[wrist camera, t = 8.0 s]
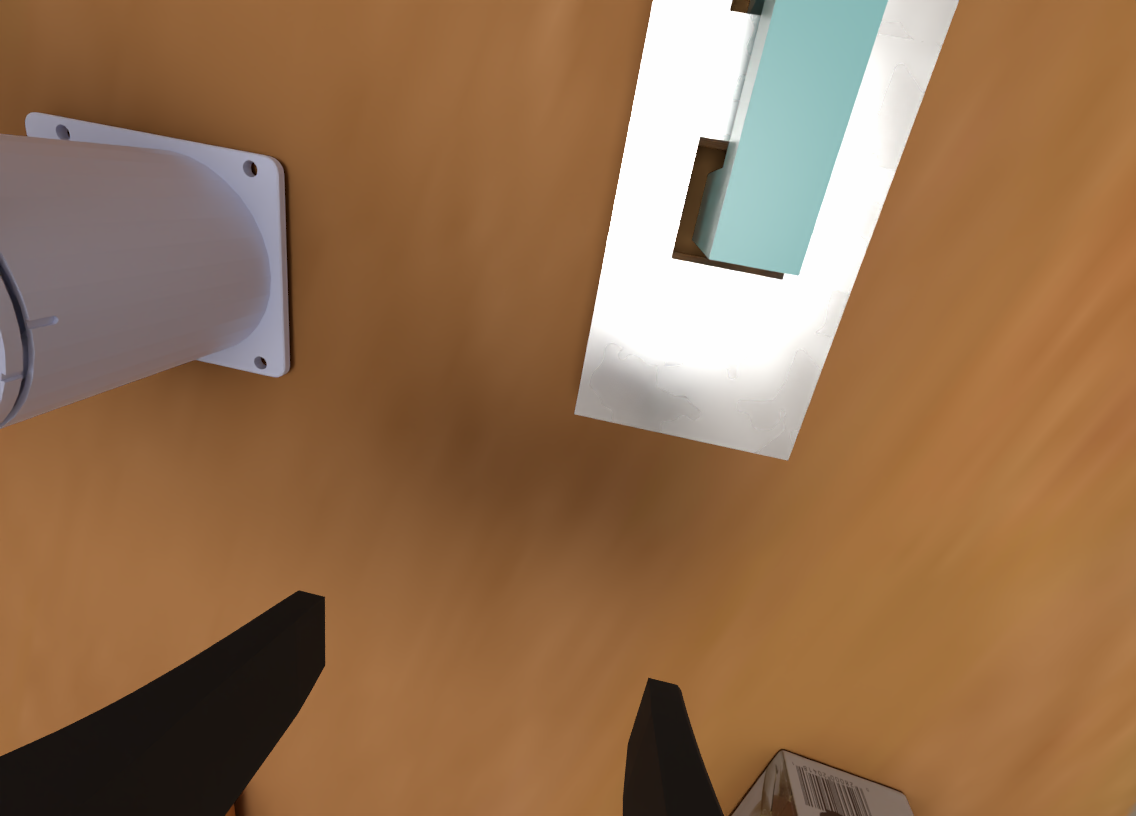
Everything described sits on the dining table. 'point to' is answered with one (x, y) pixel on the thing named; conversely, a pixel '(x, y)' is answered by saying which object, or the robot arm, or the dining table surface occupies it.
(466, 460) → the dining table surface
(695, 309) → the white slotted slab
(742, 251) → the teal rectangular plank
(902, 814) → the coffee box
